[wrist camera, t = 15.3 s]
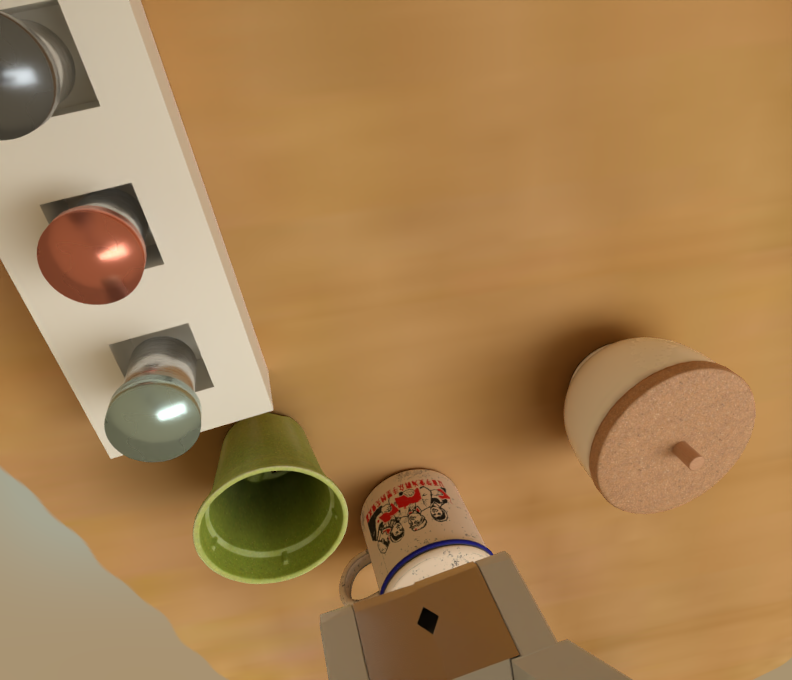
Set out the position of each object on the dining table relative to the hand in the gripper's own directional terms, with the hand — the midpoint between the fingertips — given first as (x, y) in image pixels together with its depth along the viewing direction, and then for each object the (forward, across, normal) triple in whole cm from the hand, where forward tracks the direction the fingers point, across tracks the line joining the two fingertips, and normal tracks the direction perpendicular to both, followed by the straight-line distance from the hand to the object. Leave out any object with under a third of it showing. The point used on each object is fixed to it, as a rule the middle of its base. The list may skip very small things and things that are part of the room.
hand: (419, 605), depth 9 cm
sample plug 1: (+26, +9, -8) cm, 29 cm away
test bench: (+31, +9, 0) cm, 32 cm away
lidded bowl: (+31, -22, +23) cm, 45 cm away
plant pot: (+31, +6, +19) cm, 37 cm away
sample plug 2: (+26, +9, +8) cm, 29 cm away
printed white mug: (+31, -2, +30) cm, 43 cm away
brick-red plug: (+29, +9, 0) cm, 30 cm away
